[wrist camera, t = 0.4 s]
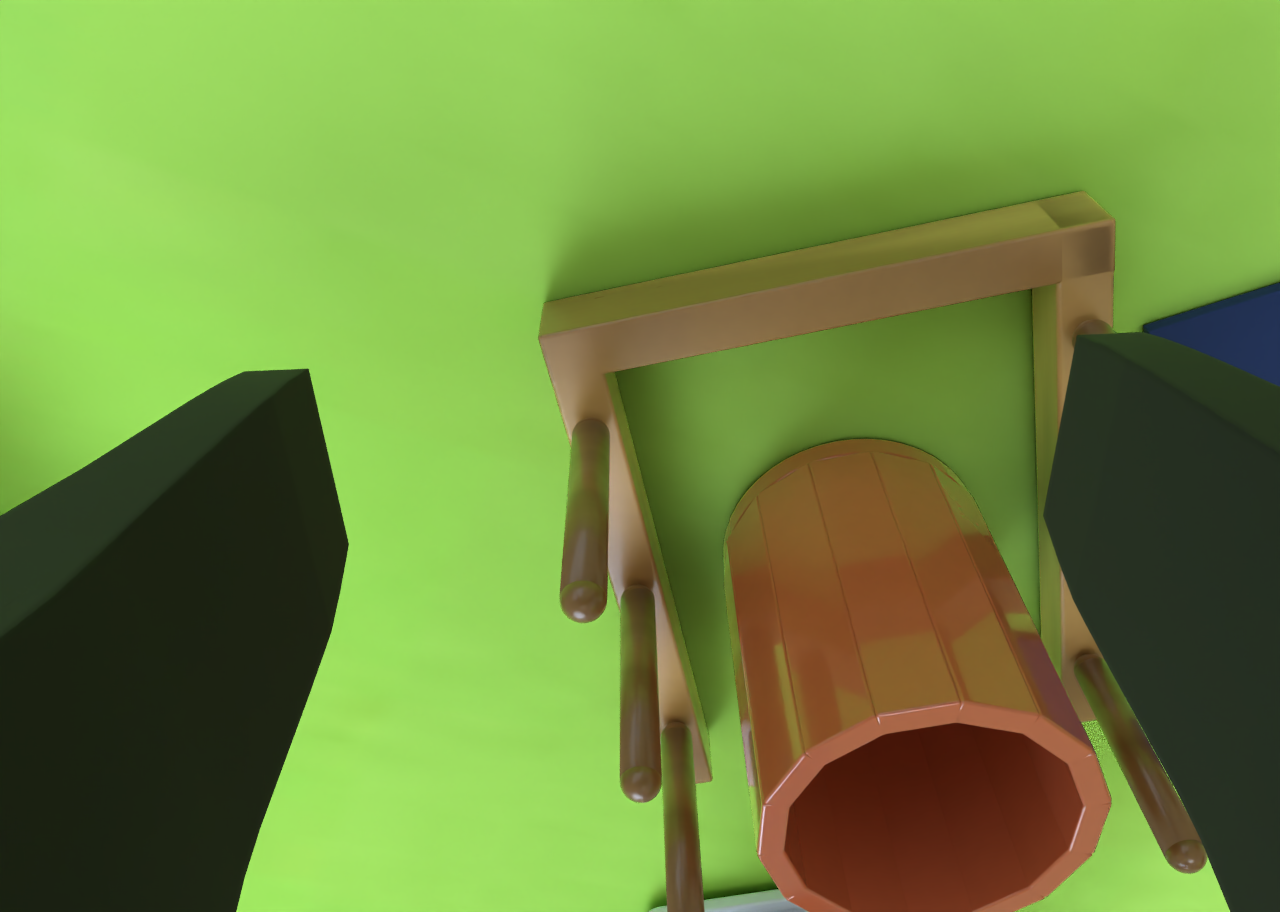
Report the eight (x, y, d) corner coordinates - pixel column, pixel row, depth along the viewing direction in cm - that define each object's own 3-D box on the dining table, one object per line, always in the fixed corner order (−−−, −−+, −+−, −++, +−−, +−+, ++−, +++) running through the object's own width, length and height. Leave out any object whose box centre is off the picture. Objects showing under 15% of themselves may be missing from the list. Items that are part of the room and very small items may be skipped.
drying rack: (1084, 673, 26) (1216, 933, 20) (668, 741, 27) (681, 1006, 21) (1084, 189, 20) (1277, 366, 14) (542, 302, 21) (511, 510, 15)
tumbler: (985, 617, 25) (1110, 910, 18) (741, 658, 25) (781, 956, 19) (973, 413, 22) (1115, 676, 16) (698, 465, 23) (728, 739, 16)
